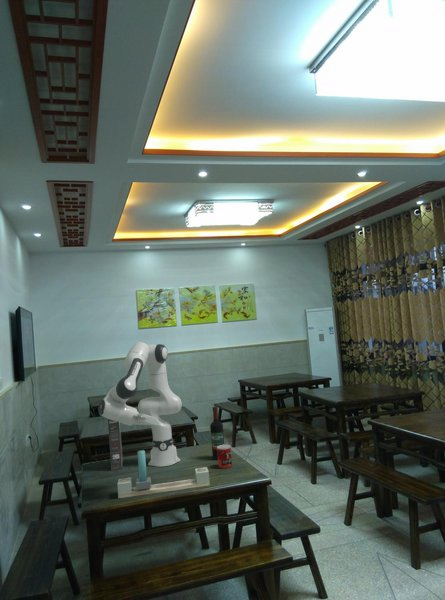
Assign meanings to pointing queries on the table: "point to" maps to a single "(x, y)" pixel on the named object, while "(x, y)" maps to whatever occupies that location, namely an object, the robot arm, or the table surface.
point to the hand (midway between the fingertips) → (154, 424)
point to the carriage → (142, 472)
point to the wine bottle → (216, 433)
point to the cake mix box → (115, 444)
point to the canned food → (224, 456)
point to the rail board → (163, 485)
